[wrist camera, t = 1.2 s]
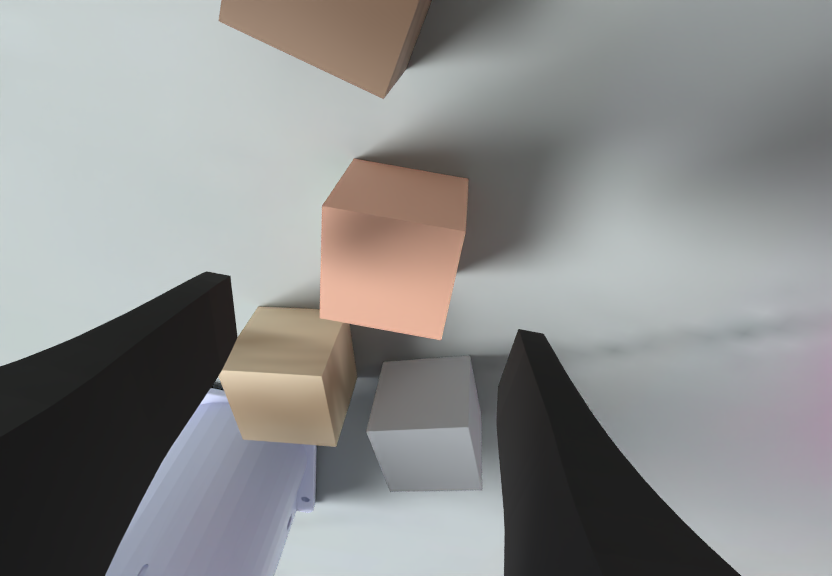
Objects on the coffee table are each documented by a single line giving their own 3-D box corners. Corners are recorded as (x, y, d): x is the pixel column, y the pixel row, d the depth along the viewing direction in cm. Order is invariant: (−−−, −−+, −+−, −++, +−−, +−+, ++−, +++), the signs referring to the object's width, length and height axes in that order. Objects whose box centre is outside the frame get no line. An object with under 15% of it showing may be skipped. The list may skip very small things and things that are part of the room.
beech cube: (357, 376, 22) (336, 446, 19) (277, 371, 22) (242, 439, 19) (347, 308, 20) (321, 376, 16) (259, 305, 20) (216, 370, 17)
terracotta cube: (448, 273, 18) (441, 340, 15) (348, 255, 18) (319, 318, 15) (468, 177, 16) (465, 231, 13) (354, 157, 16) (322, 205, 13)
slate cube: (481, 414, 23) (481, 490, 19) (402, 418, 23) (390, 491, 20) (470, 353, 20) (468, 427, 17) (383, 360, 21) (365, 431, 18)
